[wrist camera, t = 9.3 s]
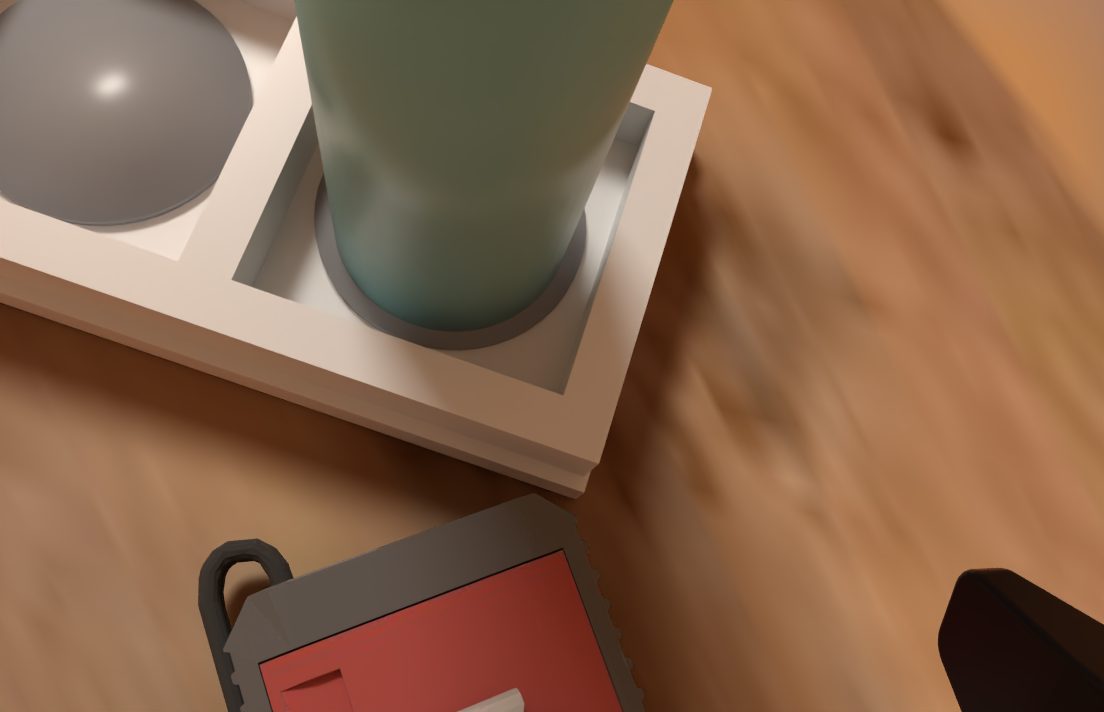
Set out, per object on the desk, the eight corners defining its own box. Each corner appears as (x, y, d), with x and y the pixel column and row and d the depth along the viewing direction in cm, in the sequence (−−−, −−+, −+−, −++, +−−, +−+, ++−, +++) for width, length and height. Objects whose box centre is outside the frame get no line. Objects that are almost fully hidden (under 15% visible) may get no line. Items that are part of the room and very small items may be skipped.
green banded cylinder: (560, 347, 19) (843, -164, 7) (314, 317, 19) (136, -303, 6) (577, 132, 21) (838, -613, 8) (349, 98, 20) (261, -761, 8)
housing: (575, 498, 20) (599, 481, 17) (-188, 237, 19) (-273, 180, 16) (686, 137, 22) (720, 78, 20) (26, -105, 22) (-20, -196, 19)
